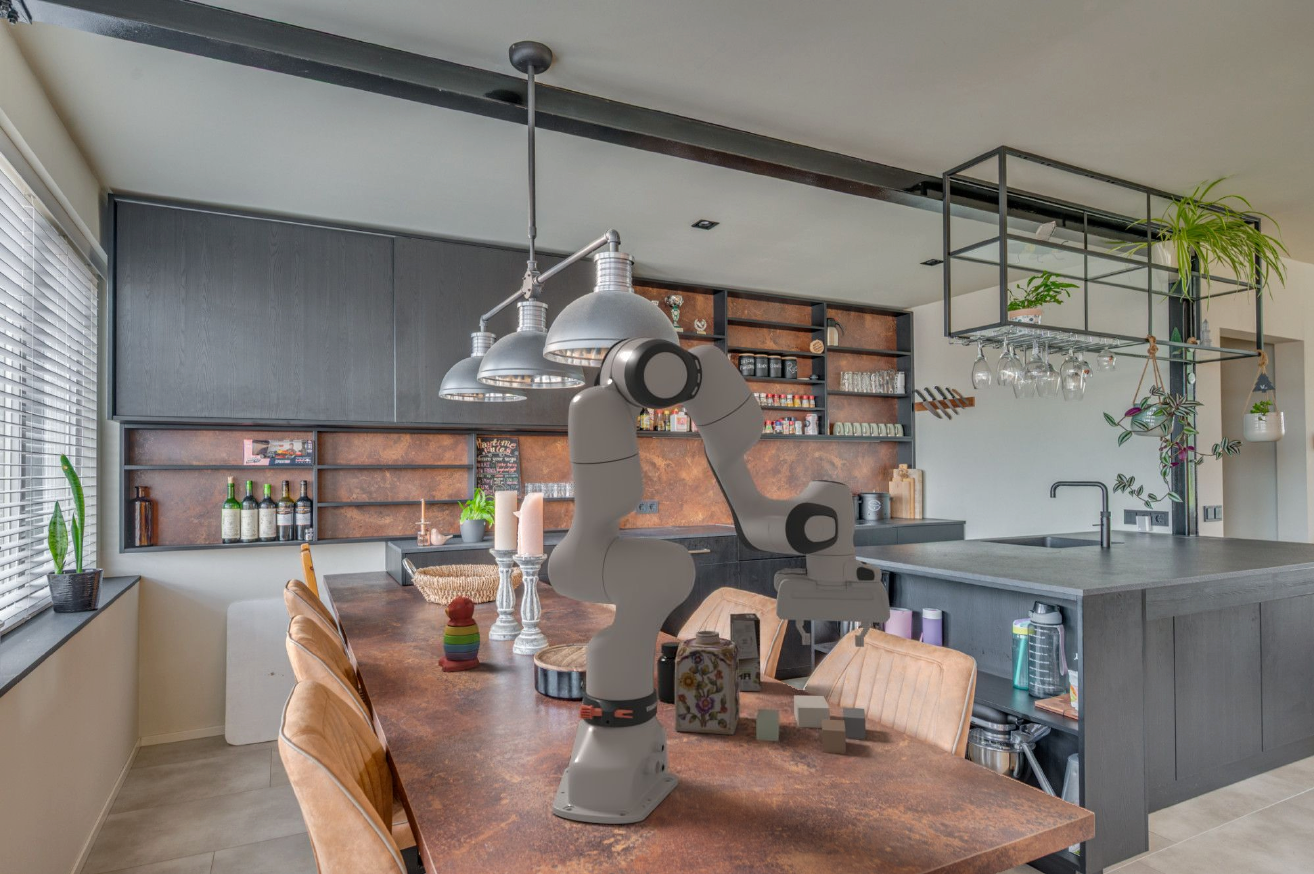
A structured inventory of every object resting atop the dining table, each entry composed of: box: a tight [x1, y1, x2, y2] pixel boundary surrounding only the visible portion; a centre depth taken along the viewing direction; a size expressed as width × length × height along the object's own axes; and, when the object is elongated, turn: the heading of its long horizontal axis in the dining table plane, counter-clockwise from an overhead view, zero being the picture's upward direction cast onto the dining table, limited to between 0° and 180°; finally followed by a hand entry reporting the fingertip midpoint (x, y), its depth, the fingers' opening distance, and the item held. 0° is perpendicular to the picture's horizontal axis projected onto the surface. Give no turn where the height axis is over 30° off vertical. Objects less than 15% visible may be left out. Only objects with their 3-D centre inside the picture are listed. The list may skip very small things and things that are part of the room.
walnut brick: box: [821, 719, 847, 755], centre depth 134 cm, size 6×4×4 cm, turn 168°
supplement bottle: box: [656, 641, 681, 704], centre depth 164 cm, size 7×7×12 cm
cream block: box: [793, 695, 831, 729], centre depth 149 cm, size 8×6×4 cm
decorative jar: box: [674, 630, 741, 736], centre depth 148 cm, size 12×12×18 cm
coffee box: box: [729, 612, 761, 692], centre depth 174 cm, size 9×6×16 cm
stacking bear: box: [437, 595, 481, 673], centre depth 194 cm, size 11×10×18 cm
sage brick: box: [755, 708, 780, 742], centre depth 141 cm, size 6×4×4 cm, turn 169°
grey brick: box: [842, 706, 867, 741], centre depth 141 cm, size 6×4×4 cm, turn 166°
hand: (832, 645), depth 135 cm, fingers open, 8 cm apart
